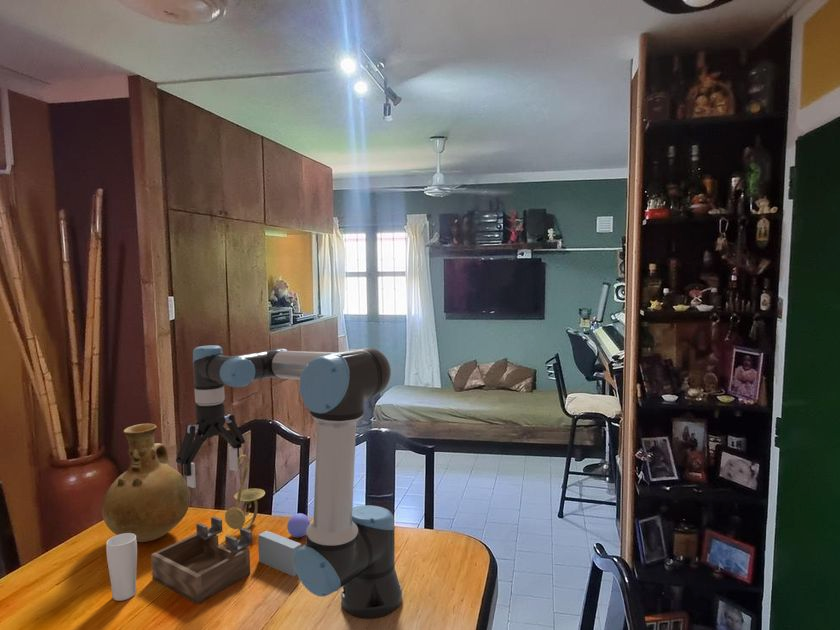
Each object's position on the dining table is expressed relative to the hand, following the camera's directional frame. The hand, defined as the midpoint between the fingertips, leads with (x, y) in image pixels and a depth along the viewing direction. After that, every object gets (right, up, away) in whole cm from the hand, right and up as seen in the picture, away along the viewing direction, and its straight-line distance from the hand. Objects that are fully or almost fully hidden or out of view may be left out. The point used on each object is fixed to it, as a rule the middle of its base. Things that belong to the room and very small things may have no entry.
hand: (213, 478), depth 149 cm
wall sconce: (+2, -24, +23) cm, 33 cm away
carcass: (-1, -26, -2) cm, 26 cm away
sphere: (+19, -24, +19) cm, 36 cm away
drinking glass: (-18, -27, -11) cm, 34 cm away
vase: (-27, -24, +18) cm, 40 cm away
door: (+18, -25, +2) cm, 31 cm away
